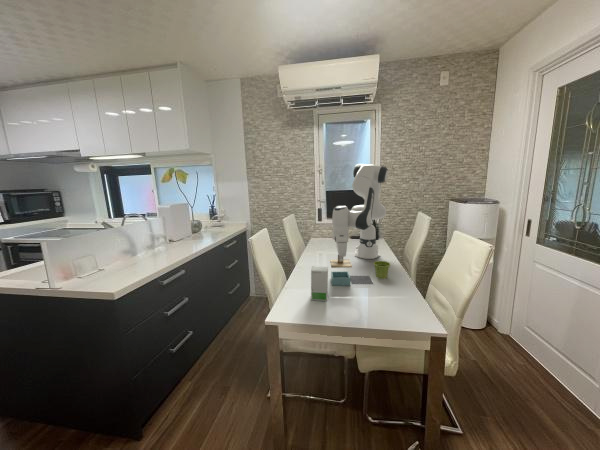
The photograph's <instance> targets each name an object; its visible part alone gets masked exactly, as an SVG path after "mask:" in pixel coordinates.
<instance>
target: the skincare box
mask: <svg viewBox="0 0 600 450" xmlns="http://www.w3.org/2000/svg"><path fill="white" fill-rule="evenodd" d="M328 272H329V267H328V266H317V265H316V266H315V265H314V266H311V270H310V282H311V283H310V300H311V301H320V302H328V295H329V293H328V291H329V288H328V284H329V278H328V277H329V273H328Z"/></svg>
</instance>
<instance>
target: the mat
mask: <svg viewBox="0 0 600 450" xmlns="http://www.w3.org/2000/svg"><path fill="white" fill-rule="evenodd" d="M350 285H374V282H373V280H372V279H371V277H370V275H350Z"/></svg>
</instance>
